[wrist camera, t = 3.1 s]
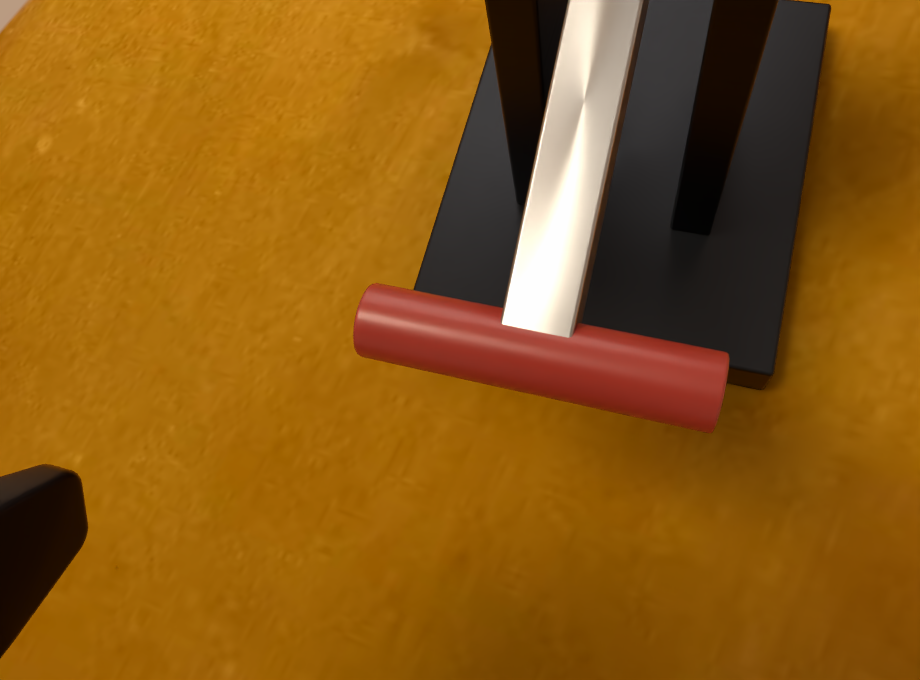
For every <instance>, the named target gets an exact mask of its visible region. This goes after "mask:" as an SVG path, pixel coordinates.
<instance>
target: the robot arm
mask: <svg viewBox="0 0 920 680" xmlns="http://www.w3.org/2000/svg"><path fill="white" fill-rule="evenodd" d="M87 531H88V522H87V515H86V508H85V501H84V494H83V487H82V482H81V479H80V477H79V476H78V474H77V473H75V472H74V471H72V470H68V469H65V468H61V467H57V466H54V465H48V464H42V465H38V466H35V467H31V468H28V469H25V470H22V471H18V472H15V473H12V474H8V475H5V476H2V477H0V658H1V657H2V656H3V654H4V653H5V652H6V651H7V649H8V648H9V647H10V645H11V644H12V643H13V641H14V640H15V639H16V637H17V636H18V635H19V633H20V632H21V631H22V629H23V628H24V626H25V625H26V624H27V622H28V621H29V619H30V618H31V617H32V615H33V614H34V613H35V611H36V610H37V608H38V607H39V606H40V604H41V603H42V601H43V600H44V599H45V597H46V596H47V595H48V593H49V592H50V590H51V589H52V588H53V586H54V585H55V583H56V582H57V581H58V579H59V578H60V577H61V575H62V574H63V572H64V571H65V570H66V568H67V567H68V565H69V564H70V563H71V561H72V560H73V559H74V557H75V556H76V554H77V553H78V552H79V550H80V549H81V547H82V545H83V543H84V541H85V539H86V536H87Z"/></svg>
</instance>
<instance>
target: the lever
mask: <svg viewBox="0 0 920 680" xmlns="http://www.w3.org/2000/svg"><path fill="white" fill-rule="evenodd" d="M648 5H649V0H568V3H567V8H566V13H565V17H564V22H563V27H562V32H561V36H560V41H559V46H558V51H557V55H556V60H555V65H554V70H553V74H552V79H551V84H550V88H549V93H548V98H547V103H546V107H545V112H544V117H543V122H542V126H541V131H540V136H539V140H538V145H537V150H536V155H535V159H534V164H533V169H532V174H531V178H530V183H529V188H528V192H527V197H526V202H525V207H524V211H523V216H522V221H521V226H520V230H519V235H518V240H517V245H516V249H515V254H514V259H513V263H512V268H511V273H510V278H509V282H508V287H507V292H506V297H505V301H504V306H503V308H501V307H496V306H491V305H485V304H480V303H475V302H470V301H465V300H460V299H455V298H450V297H445V296H440V295H435V294H430V293H425V292H420V291H415V290H409V289H404V288H399V287H394V286H389V285H384V284H379V283H375V284H372V285H370V286H369V287H368V288H367V289H366V291H365V292H364V294H363V296H362V298H361V301H360V303H359V306H358V309H357V313H356V317H355V323H354V335H353V336H354V347H355V350H356V352H357V354H359V355H360V356H361V357H365V358H370V359H374V360H379V361H383V362H388V363H393V364H397V365H402V366H406V367H411V368H415V369H420V370H424V371H429V372H433V373H438V374H442V375H447V376H451V377H456V378H461V379H465V380H470V381H474V382H479V383H483V384H488V385H492V386H497V387H501V388H506V389H510V390H515V391H520V392H524V393H529V394H533V395H538V396H542V397H547V398H551V399H556V400H560V401H565V402H569V403H574V404H579V405H583V406H588V407H592V408H597V409H601V410H606V411H610V412H615V413H619V414H624V415H628V416H633V417H638V418H642V419H647V420H651V421H656V422H660V423H665V424H669V425H674V426H678V427H683V428H687V429H692V430H697V431H701V432H706V433H712V432H713V430H714V429H715V427H716V424H717V421H718V418H719V414H720V410H721V406H722V402H723V398H724V393H725V388H726V382H727V377H728V370H729V354H728V353H727V352H724V351H719V350H714V349H708V348H703V347H698V346H693V345H688V344H683V343H678V342H673V341H668V340H663V339H658V338H653V337H648V336H643V335H637V334H632V333H627V332H622V331H617V330H612V329H607V328H602V327H597V326H592V325H587V324H582V319H583V314H584V309H585V304H586V299H587V295H588V290H589V285H590V280H591V276H592V271H593V266H594V261H595V257H596V252H597V247H598V242H599V238H600V233H601V228H602V223H603V219H604V214H605V209H606V204H607V200H608V195H609V190H610V185H611V181H612V176H613V171H614V166H615V162H616V157H617V152H618V147H619V143H620V138H621V133H622V128H623V123H624V119H625V114H626V109H627V104H628V100H629V95H630V90H631V85H632V81H633V76H634V71H635V66H636V62H637V57H638V52H639V47H640V43H641V38H642V33H643V28H644V24H645V19H646V14H647V9H648Z"/></svg>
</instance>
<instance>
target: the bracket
mask: <svg viewBox="0 0 920 680" xmlns="http://www.w3.org/2000/svg"><path fill="white" fill-rule="evenodd" d="M567 3H568V0H485V4H486V10H487V17H488V23H489V29H490V36H491V42H492V43H491V46H490V50H489V53H488V56H487V59H486V62H485V65H484V68H483V72H482V75H481V78H480V81H479V84H478V87H477V91H476V94H475V97H474V100H473V103H472V106H471V110H470V113H469V116H468V119H467V122H466V125H465V128H464V132H463V135H462V138H461V141H460V144H459V147H458V151H457V154H456V157H455V160H454V163H453V166H452V170H451V173H450V176H449V179H448V182H447V185H446V189H445V192H444V195H443V198H442V201H441V204H440V207H439V211H438V214H437V217H436V220H435V223H434V226H433V230H432V233H431V236H430V239H429V242H428V245H427V249H426V252H425V255H424V258H423V261H422V264H421V268H420V271H419V274H418V277H417V280H416V283H415V286H414V290H415V291H420V292H425V293H430V294H435V295H440V296H445V297H450V298H455V299H460V300H465V301H470V302H475V303H480V304H485V305H491V306H496V307H501V308H503V306H504V301H505V297H506V292H507V287H508V282H509V278H510V273H511V268H512V263H513V259H514V254H515V249H516V245H517V240H518V235H519V230H520V226H521V221H522V216H523V211H524V207H525V202H526V197H527V192H528V188H529V183H530V178H531V174H532V169H533V164H534V159H535V155H536V150H537V145H538V140H539V136H540V131H541V126H542V122H543V117H544V112H545V107H546V103H547V98H548V93H549V88H550V84H551V79H552V74H553V70H554V65H555V60H556V55H557V51H558V46H559V41H560V36H561V32H562V27H563V22H564V17H565V13H566V8H567ZM830 12H831V6H830V5H829V4H823V3H813V2H803V1H793V0H649V5H648V9H647V14H646V19H645V24H644V28H643V33H642V38H641V43H640V47H639V52H638V57H637V62H636V66H635V71H634V76H633V81H632V85H631V90H630V95H629V100H628V104H627V109H626V114H625V119H624V123H623V128H622V133H621V138H620V143H619V147H618V152H617V157H616V162H615V166H614V171H613V176H612V181H611V185H610V190H609V195H608V200H607V204H606V209H605V214H604V219H603V223H602V228H601V233H600V238H599V242H598V247H597V252H596V257H595V261H594V266H593V271H592V276H591V280H590V285H589V290H588V295H587V299H586V304H585V309H584V314H583V319H582V324H587V325H592V326H597V327H602V328H607V329H612V330H617V331H622V332H627V333H632V334H637V335H643V336H648V337H653V338H658V339H663V340H668V341H673V342H678V343H683V344H688V345H693V346H698V347H703V348H708V349H714V350H719V351H724V352H727V353H728V354H729V370H728V377H727V382H726V383H731V384H736V385H741V386H746V387H750V388H755V389H760V390H761V389H764V388H765V386H766V385H767V383H768V382H769V380H770V379H771V377H772V376H773V374H774V370H775V364H776V358H777V351H778V345H779V338H780V332H781V326H782V319H783V313H784V306H785V300H786V294H787V287H788V281H789V274H790V268H791V262H792V255H793V249H794V242H795V236H796V230H797V223H798V217H799V210H800V204H801V198H802V191H803V185H804V178H805V172H806V165H807V159H808V153H809V146H810V140H811V133H812V127H813V121H814V114H815V108H816V101H817V95H818V89H819V82H820V76H821V69H822V63H823V57H824V50H825V44H826V37H827V31H828V25H829V18H830Z"/></svg>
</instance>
